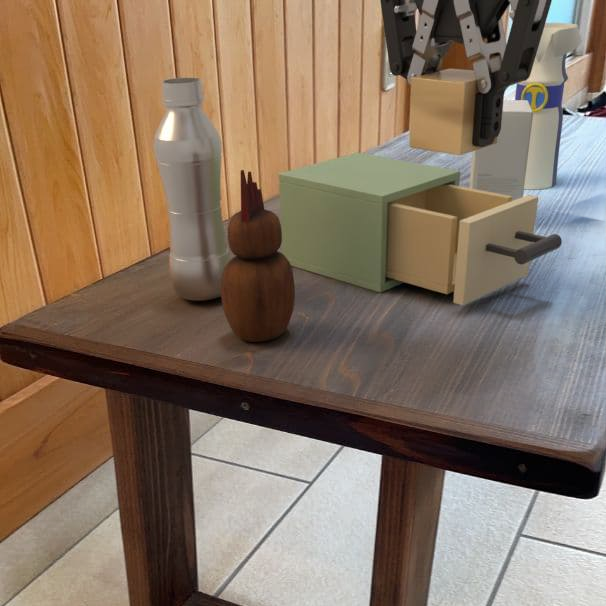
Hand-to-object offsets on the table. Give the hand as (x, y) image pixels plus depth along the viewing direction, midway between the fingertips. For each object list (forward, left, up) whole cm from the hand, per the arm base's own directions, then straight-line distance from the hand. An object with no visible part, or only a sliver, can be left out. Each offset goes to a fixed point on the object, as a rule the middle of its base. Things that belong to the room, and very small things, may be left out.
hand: (453, 139), depth 68 cm
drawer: (-12, -6, -16) cm, 21 cm away
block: (0, 0, 0) cm, 0 cm away
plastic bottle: (+7, -25, -17) cm, 31 cm away
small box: (-35, -18, -17) cm, 43 cm away
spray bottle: (-53, -24, -17) cm, 61 cm away
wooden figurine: (+10, -13, -17) cm, 24 cm away
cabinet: (-12, -19, -17) cm, 28 cm away
